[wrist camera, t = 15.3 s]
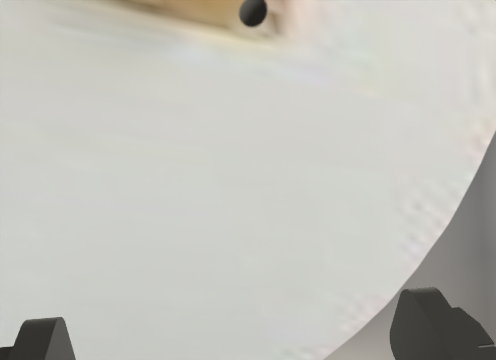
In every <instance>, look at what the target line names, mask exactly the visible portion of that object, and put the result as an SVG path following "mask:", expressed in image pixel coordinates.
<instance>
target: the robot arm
mask: <svg viewBox="0 0 496 360" xmlns="http://www.w3.org/2000/svg"><path fill="white" fill-rule="evenodd" d="M390 344H391V349H392V352H393V355H394V357H395V359H396V360H496V347H495V346H494V342H493V341H492V339H491V338H490V337H489V335H488V334H487V333H486V331H485V330H484V329H483V327H482V326H481V324H480V323H478V322H477V321H476V320H475V319H474V318H472V317H471V316H470V315H468V314H467V313H466V312H465V311H463V310H462V309H461V308H459V307H458V308H451V306H450V305H449V304H448V302H447V300H446V299H445V298H444V296H443V295H442V293H441V292H440V291H439V290H438V289H437V288H434V287H429V288H418V289H405V290H403V291H402V292H401V294H400V298H399V301H398V305H397V308H396V311H395V315H394V318H393V322H392V326H391V329H390ZM0 360H76V359H75V356H74V352H73V348H72V345H71V341H70V338H69V334H68V331H67V327H66V324H65V321H64V319H63V318H62V317H55V318H43V319H31V320H26V321H25V322H24V323H23V324H22V326H21V328H20V331H19V333H18V336H17V338H16V341H15V344H14V346H12V347H1V348H0Z"/></svg>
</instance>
